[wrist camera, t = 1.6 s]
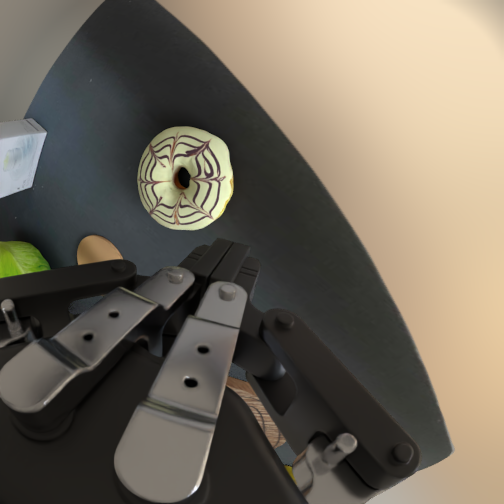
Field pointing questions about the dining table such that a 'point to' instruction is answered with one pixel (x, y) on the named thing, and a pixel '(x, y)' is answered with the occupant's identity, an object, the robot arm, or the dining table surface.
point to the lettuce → (20, 259)
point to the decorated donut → (201, 182)
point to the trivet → (257, 410)
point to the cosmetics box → (19, 154)
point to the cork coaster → (96, 250)
